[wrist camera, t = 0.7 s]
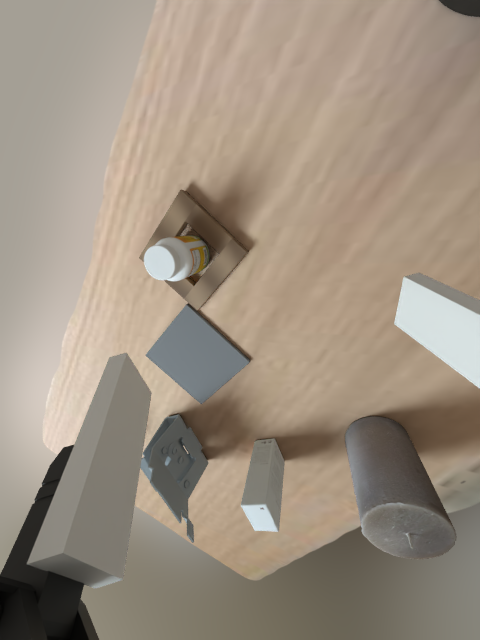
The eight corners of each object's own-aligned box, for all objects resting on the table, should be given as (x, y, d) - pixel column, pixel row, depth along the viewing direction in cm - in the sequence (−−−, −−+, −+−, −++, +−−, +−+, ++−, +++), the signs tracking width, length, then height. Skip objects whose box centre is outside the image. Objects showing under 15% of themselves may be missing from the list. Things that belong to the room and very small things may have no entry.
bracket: (222, 458, 51) (193, 543, 37) (185, 463, 54) (146, 542, 41) (194, 409, 48) (151, 482, 34) (156, 418, 51) (103, 488, 38)
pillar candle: (419, 451, 39) (480, 571, 26) (359, 465, 43) (386, 576, 29) (391, 407, 37) (442, 510, 24) (332, 425, 41) (347, 523, 28)
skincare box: (254, 439, 47) (239, 504, 36) (275, 437, 45) (266, 504, 34) (264, 463, 48) (253, 531, 37) (285, 461, 47) (280, 532, 36)
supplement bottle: (170, 250, 37) (129, 258, 28) (194, 227, 35) (157, 227, 26) (193, 279, 38) (159, 295, 29) (217, 257, 36) (189, 268, 27)
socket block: (185, 190, 33) (180, 189, 32) (248, 251, 34) (246, 252, 33) (144, 256, 38) (139, 257, 37) (200, 307, 39) (197, 310, 38)
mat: (188, 303, 39) (186, 304, 39) (250, 360, 40) (249, 362, 40) (147, 353, 45) (145, 355, 45) (202, 402, 46) (201, 404, 46)
